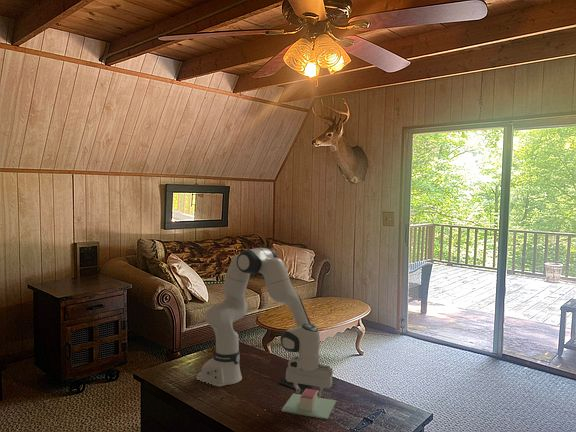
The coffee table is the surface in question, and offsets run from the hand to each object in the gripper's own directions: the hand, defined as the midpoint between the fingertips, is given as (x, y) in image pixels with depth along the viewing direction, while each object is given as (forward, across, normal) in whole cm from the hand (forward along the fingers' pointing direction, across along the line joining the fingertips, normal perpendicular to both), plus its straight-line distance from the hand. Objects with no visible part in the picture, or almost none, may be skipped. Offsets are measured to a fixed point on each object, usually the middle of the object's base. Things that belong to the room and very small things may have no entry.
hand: (308, 394), depth 186 cm
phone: (+6, +12, -18) cm, 22 cm away
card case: (+5, 0, 0) cm, 5 cm away
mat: (+5, 0, 0) cm, 5 cm away
